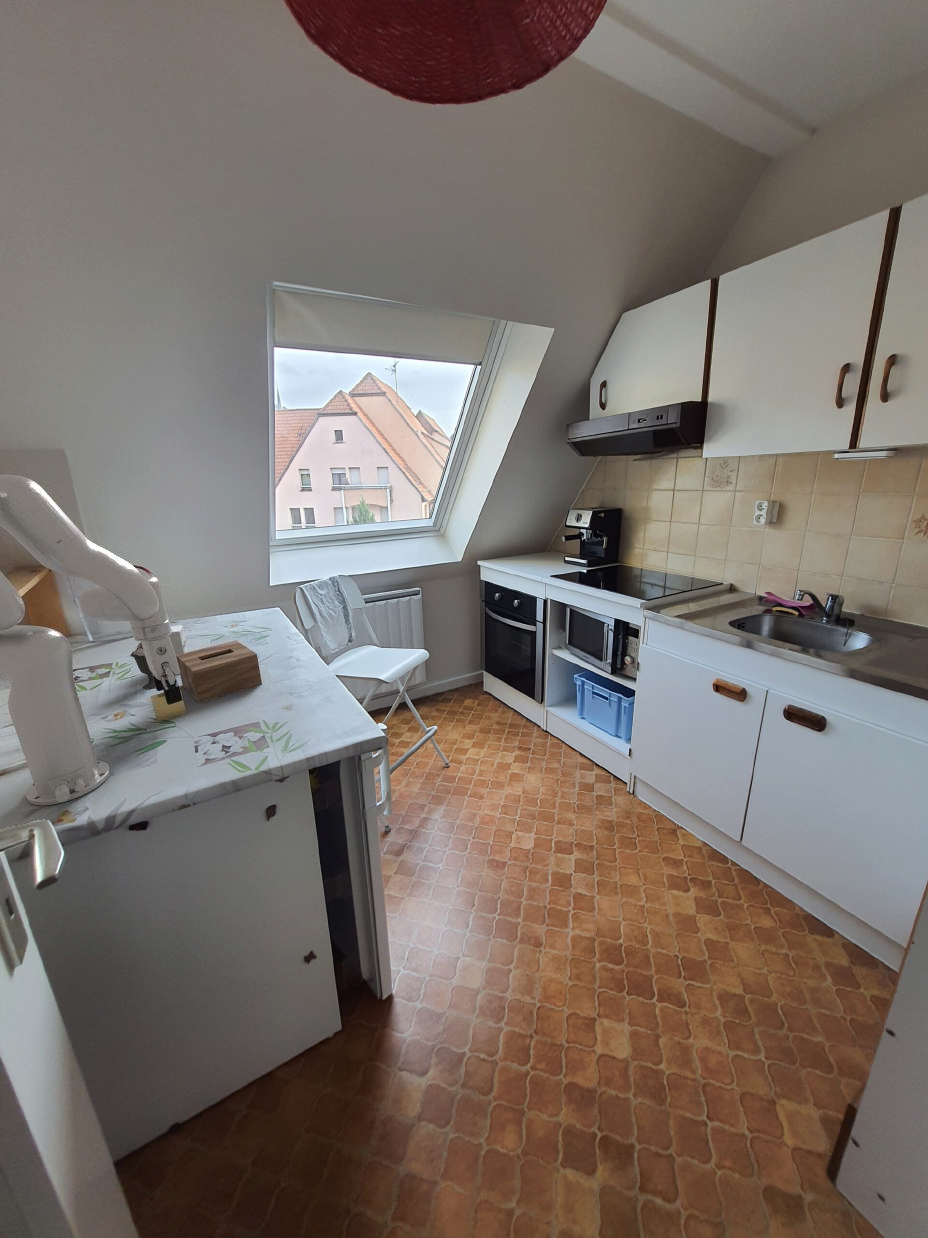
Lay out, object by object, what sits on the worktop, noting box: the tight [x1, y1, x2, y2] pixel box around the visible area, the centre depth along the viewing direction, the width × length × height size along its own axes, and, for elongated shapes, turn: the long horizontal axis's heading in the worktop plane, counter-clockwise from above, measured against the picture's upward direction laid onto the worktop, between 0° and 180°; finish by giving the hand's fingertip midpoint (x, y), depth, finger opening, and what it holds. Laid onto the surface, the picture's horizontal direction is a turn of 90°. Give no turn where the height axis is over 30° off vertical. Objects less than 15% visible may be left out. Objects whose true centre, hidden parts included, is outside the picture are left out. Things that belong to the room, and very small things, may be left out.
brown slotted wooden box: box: [176, 640, 263, 704], centre depth 132 cm, size 16×16×9 cm
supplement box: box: [169, 624, 189, 659], centre depth 144 cm, size 7×7×13 cm
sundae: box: [129, 642, 156, 690], centre depth 132 cm, size 7×7×15 cm
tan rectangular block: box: [150, 689, 187, 722], centre depth 116 cm, size 2×6×6 cm, turn 133°
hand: (169, 695), depth 117 cm, fingers open, 9 cm apart
